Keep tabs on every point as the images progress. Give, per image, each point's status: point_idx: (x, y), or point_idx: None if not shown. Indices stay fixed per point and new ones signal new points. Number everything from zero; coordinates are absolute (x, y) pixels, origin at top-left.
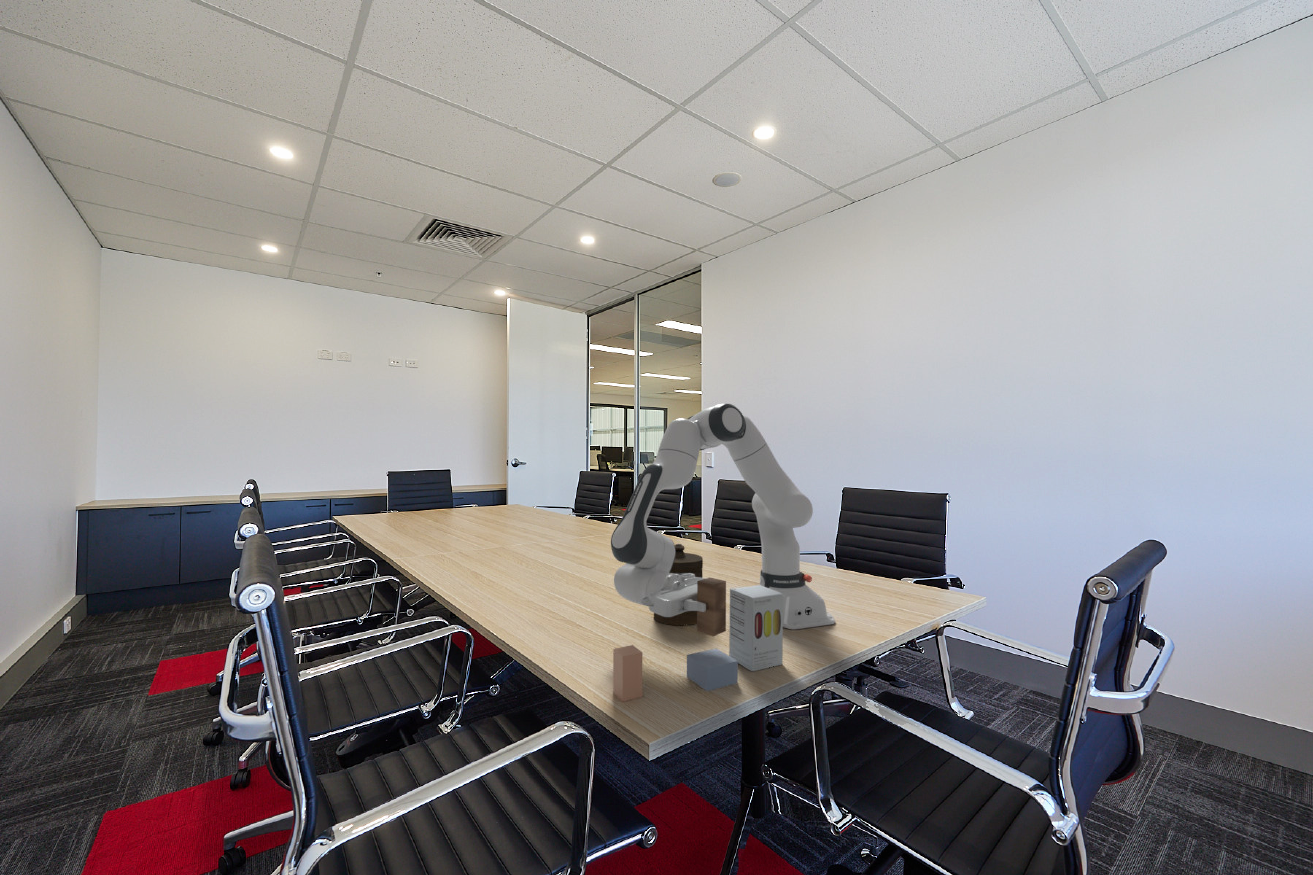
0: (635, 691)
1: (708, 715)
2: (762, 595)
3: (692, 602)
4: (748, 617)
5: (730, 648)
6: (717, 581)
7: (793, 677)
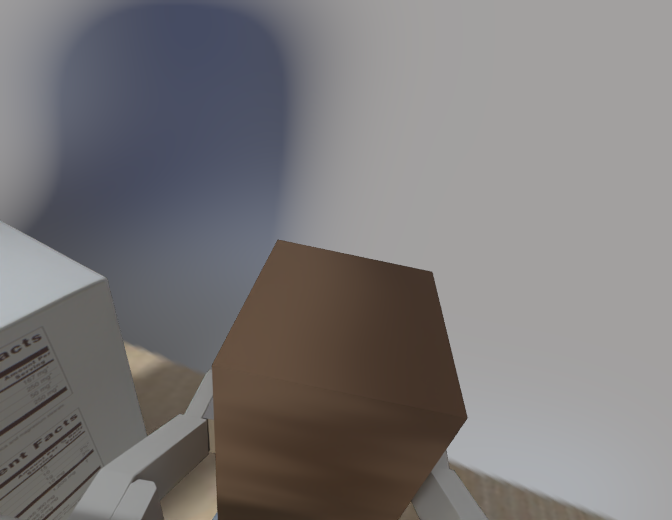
0: None
1: (458, 469)
2: (40, 253)
3: (481, 517)
4: (104, 373)
5: None
6: (330, 273)
7: (163, 364)
